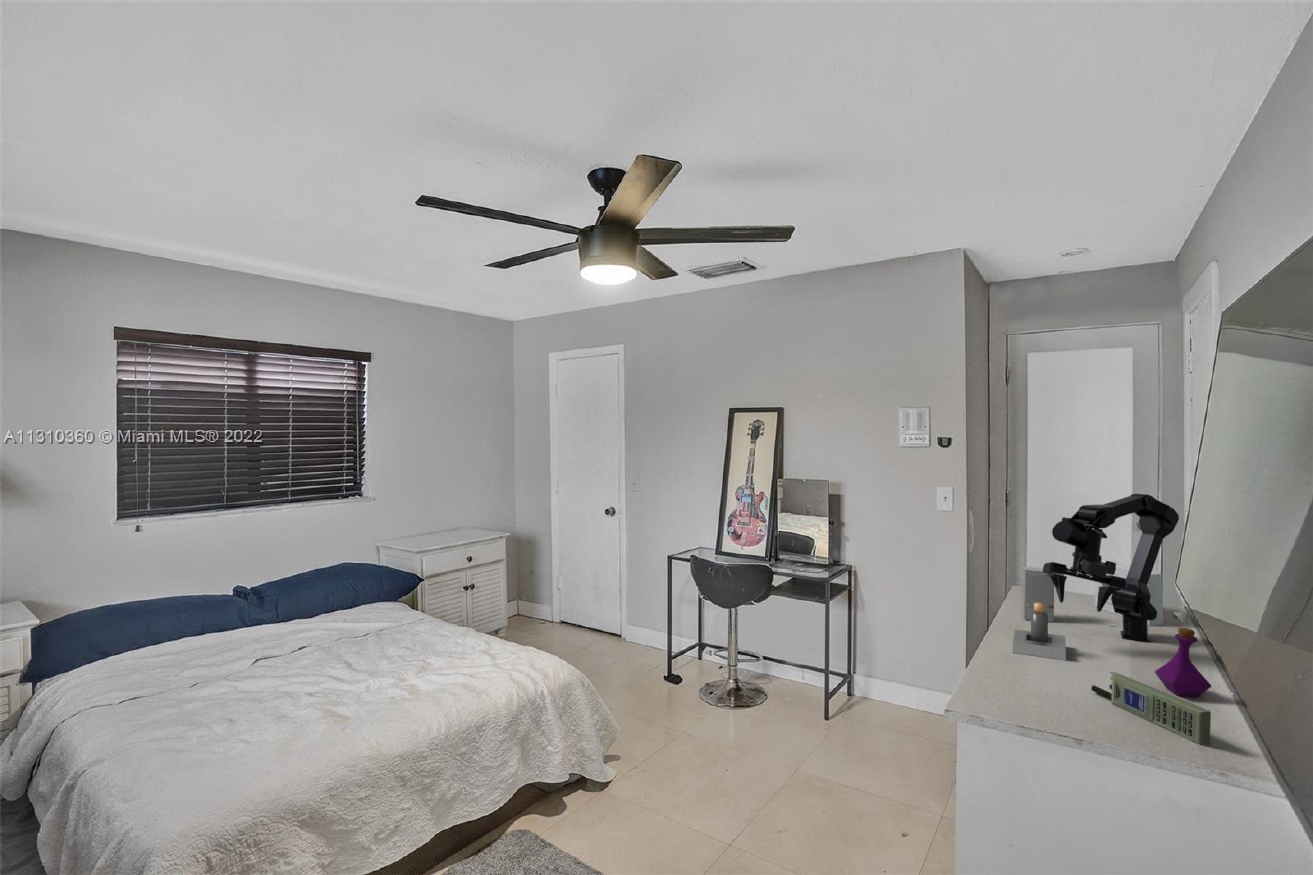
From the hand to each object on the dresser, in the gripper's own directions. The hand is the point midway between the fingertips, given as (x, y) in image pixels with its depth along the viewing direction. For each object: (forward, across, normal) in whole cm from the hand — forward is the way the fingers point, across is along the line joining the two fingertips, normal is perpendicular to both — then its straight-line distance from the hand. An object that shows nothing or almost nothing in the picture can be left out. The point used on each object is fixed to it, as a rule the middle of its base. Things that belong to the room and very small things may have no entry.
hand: (1079, 607), depth 174 cm
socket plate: (+14, -8, 0) cm, 16 cm away
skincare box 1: (+4, +1, +31) cm, 31 cm away
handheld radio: (+23, -1, -38) cm, 45 cm away
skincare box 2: (-4, +28, +38) cm, 47 cm away
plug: (+14, -8, 0) cm, 16 cm away
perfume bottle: (+16, +13, -25) cm, 32 cm away
